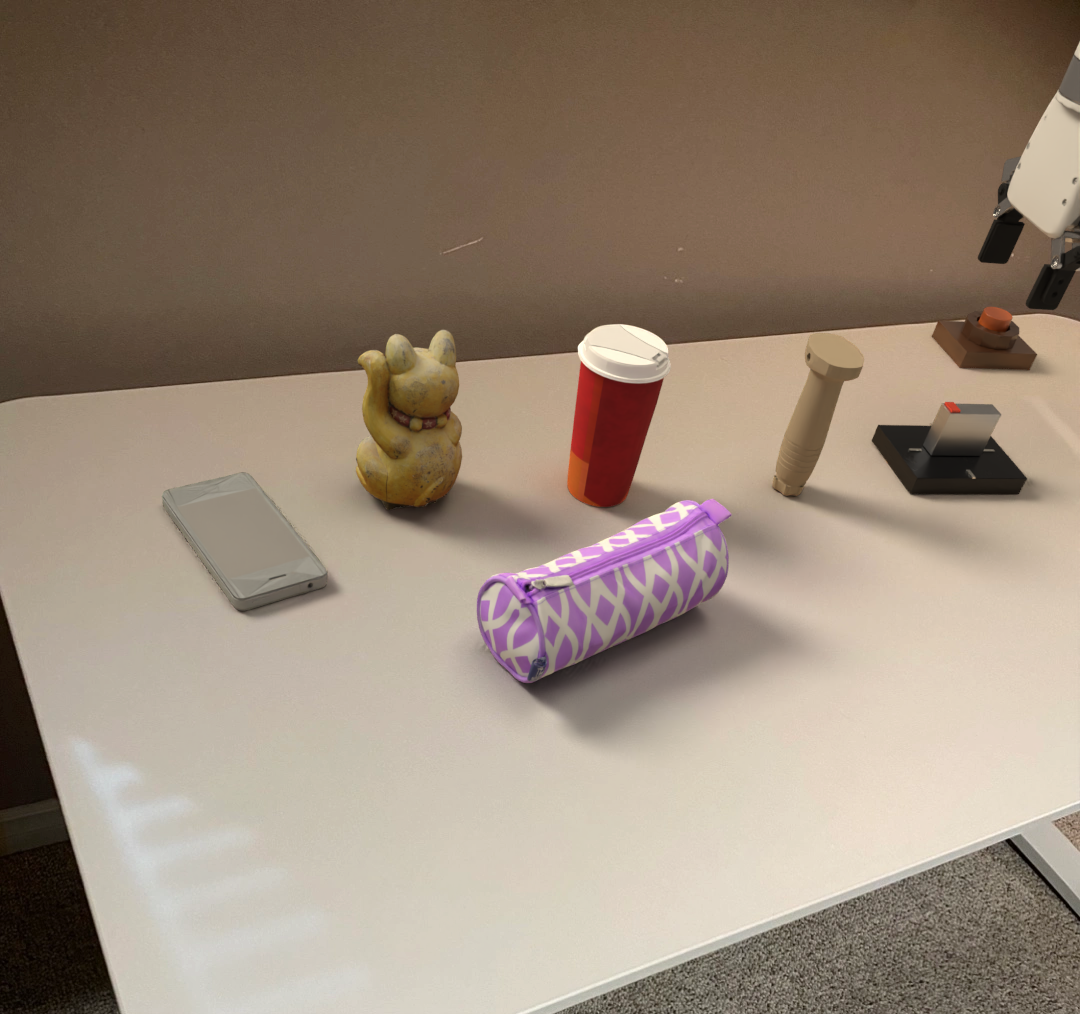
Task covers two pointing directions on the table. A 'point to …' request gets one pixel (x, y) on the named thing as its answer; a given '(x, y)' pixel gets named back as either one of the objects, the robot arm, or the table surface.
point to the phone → (244, 540)
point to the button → (995, 319)
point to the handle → (815, 408)
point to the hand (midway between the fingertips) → (1014, 284)
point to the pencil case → (604, 591)
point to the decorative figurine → (410, 422)
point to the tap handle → (961, 429)
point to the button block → (983, 345)
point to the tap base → (945, 465)
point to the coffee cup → (613, 410)
